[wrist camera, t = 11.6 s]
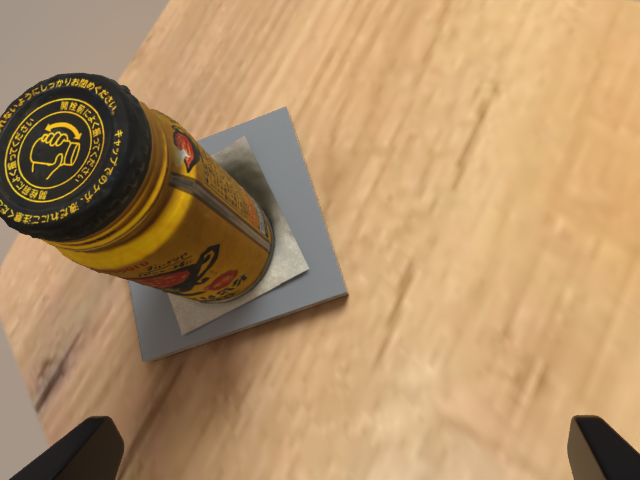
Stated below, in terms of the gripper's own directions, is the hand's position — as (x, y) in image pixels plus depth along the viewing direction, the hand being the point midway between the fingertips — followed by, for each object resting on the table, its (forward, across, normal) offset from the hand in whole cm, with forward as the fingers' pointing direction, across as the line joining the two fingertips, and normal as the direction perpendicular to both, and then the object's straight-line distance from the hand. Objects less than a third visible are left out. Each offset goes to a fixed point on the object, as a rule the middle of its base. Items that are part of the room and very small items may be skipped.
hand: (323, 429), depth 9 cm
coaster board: (+16, +8, +4) cm, 18 cm away
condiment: (+15, +8, +3) cm, 17 cm away
